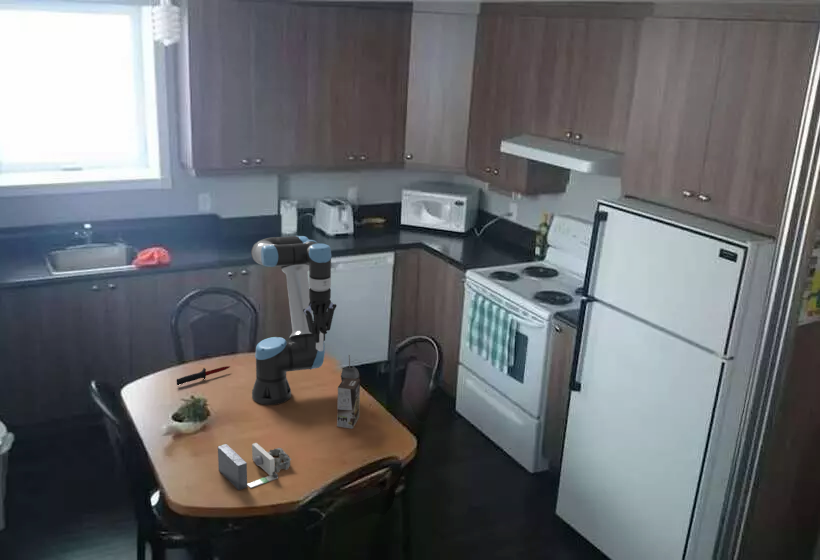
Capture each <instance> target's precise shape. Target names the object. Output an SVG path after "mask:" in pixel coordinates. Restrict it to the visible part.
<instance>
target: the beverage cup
mask: <svg viewBox="0 0 820 560" xmlns="http://www.w3.org/2000/svg"><path fill="white" fill-rule="evenodd" d="M344 378H354V379H360V373H359V370H358V368H356V367H355V366H354V365H351V354H348V366H344V368H343V369H342V371H341V374H340V380H341V381H342V380H343V379H344Z"/></svg>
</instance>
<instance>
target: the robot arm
mask: <svg viewBox="0 0 820 560" xmlns="http://www.w3.org/2000/svg"><path fill="white" fill-rule="evenodd" d="M250 251H251V253H250V254H251V258H252V261H254V263H257V264H258V265H261V266H264V267H266V268H267V267H271V268H274V267H280V268H281V271H282V272H283V273H284V274H285V278H286V287H287V295H288V304H289V314H290V320H291V329H292V332H291V334H290V336H289V338H288V339H289V341H287V340H286V339H285V338H283V337H278V336H273V337H268V338H264V339H262V340H260V341H259V342H258V343H257V344H256V347H255V353H254V357H255V367H256V368H255V374H256V375H255V382H254V384H253V388H252V390H251V391H252V392H251V398H252V400H253V401H254V402H256V403H258V404H260V405H267V406H271V405H272V406H273V405H275V406H276V405H280V404H282V403H283V404H284V403H285V402H287V401H289V400H290V399H291V397H292V390H291V386H290V383H289V381H288V378H287V372H296V371H303V370H304V371H305V370H309V371H310V370H312V369H320V368H321V367H322V366H323V363H324V361H325V353H326V352H325V349H326V348H325V345H326V344H325V341H326V334H327V333H328V331H330V330H331V326H332V323H333V317H334V313H335V310H336V308H337V304H336V303H334V302H333V301H332V300H331V295H332V292H331V291H332V289H331V286H332V285H331V284H332V281H331V280H332V257H333V256H332V248H331V246H330V245H329V244H326V243H319V242H318V241H316V240H314V239H309V238H308V237H307V236H304V235H293V236H292V235H291V236H289V235H288V236H276V237H275V236H273V237H267V238H263V239H260V240H258V241H256V242H255V243H254V244H253V246H252V248H251V250H250ZM308 272H309V274H308Z"/></svg>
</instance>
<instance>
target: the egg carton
mask: <svg viewBox="0 0 820 560" xmlns="http://www.w3.org/2000/svg"><path fill="white" fill-rule="evenodd" d="M264 450H265V449H264ZM265 451H266V450H265ZM266 452H268V453H269V454H270V455H271V456H272V457H273V456H276V457H274V467H275V473H277V474H278V473H280V471H281V470H285V471H286V470H289V467H291V460H292V458H290V456H289V455H288V454H287V453H286V452H285V450H284V449H283V448H281V447H277V448H273V449H270V450H269V451H266ZM282 461H283V462H282Z"/></svg>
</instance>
